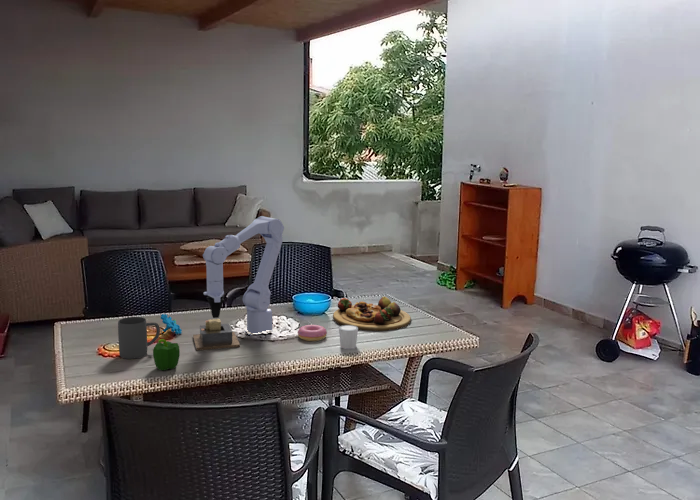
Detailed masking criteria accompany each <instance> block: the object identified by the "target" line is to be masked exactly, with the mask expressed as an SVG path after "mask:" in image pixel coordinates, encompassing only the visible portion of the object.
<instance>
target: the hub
mask: <svg viewBox="0 0 700 500" xmlns="http://www.w3.org/2000/svg"><path fill="white" fill-rule="evenodd" d="M192 338H193V342H194V345H195V346H194V347H195V350H196V351H208V350H209V351H210V350H220V349H233V348H240V346H241V344H240V341H239V339H238V337H237V335H236V333H235V331H232V328H231V326H230V324H229V323H221V331H211V332H209V331H208V330H207V331H206V328H205V325H199V334H192Z"/></svg>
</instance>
